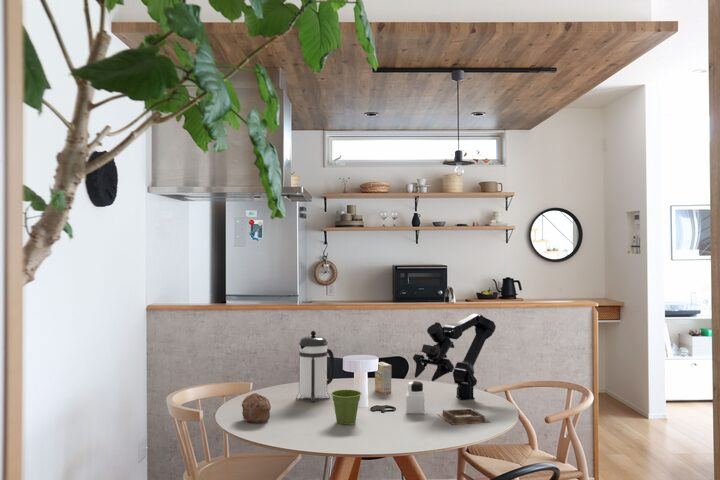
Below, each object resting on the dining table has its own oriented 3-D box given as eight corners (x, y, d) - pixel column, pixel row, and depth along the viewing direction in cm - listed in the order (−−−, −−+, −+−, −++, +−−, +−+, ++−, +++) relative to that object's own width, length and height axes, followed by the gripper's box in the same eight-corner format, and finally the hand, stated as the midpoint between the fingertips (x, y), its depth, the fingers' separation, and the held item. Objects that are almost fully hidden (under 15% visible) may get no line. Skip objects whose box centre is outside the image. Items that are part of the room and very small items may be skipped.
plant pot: (324, 424, 239) (324, 394, 239) (340, 416, 249) (340, 388, 249) (352, 428, 233) (352, 397, 233) (367, 420, 244) (367, 391, 244)
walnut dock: (473, 413, 257) (473, 406, 257) (491, 423, 242) (491, 417, 242) (436, 415, 253) (436, 409, 253) (452, 426, 238) (452, 419, 238)
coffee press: (331, 403, 271) (331, 333, 271) (294, 402, 271) (294, 333, 271) (333, 393, 288) (334, 328, 288) (298, 393, 288) (299, 327, 289)
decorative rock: (239, 417, 248) (239, 392, 248) (267, 414, 252) (267, 389, 252) (245, 426, 236) (245, 399, 236) (274, 423, 240) (274, 397, 240)
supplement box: (374, 390, 295) (374, 362, 295) (383, 389, 297) (383, 361, 297) (382, 394, 288) (382, 365, 288) (391, 393, 290) (391, 364, 290)
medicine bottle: (424, 409, 261) (424, 380, 261) (424, 414, 253) (424, 384, 254) (406, 409, 261) (406, 380, 261) (406, 413, 254) (406, 383, 254)
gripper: (415, 335, 272) (397, 363, 264) (449, 339, 258) (432, 370, 250) (427, 351, 277) (410, 380, 269) (461, 356, 263) (444, 387, 256)
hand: (423, 378), depth 261 cm, fingers open, 9 cm apart
